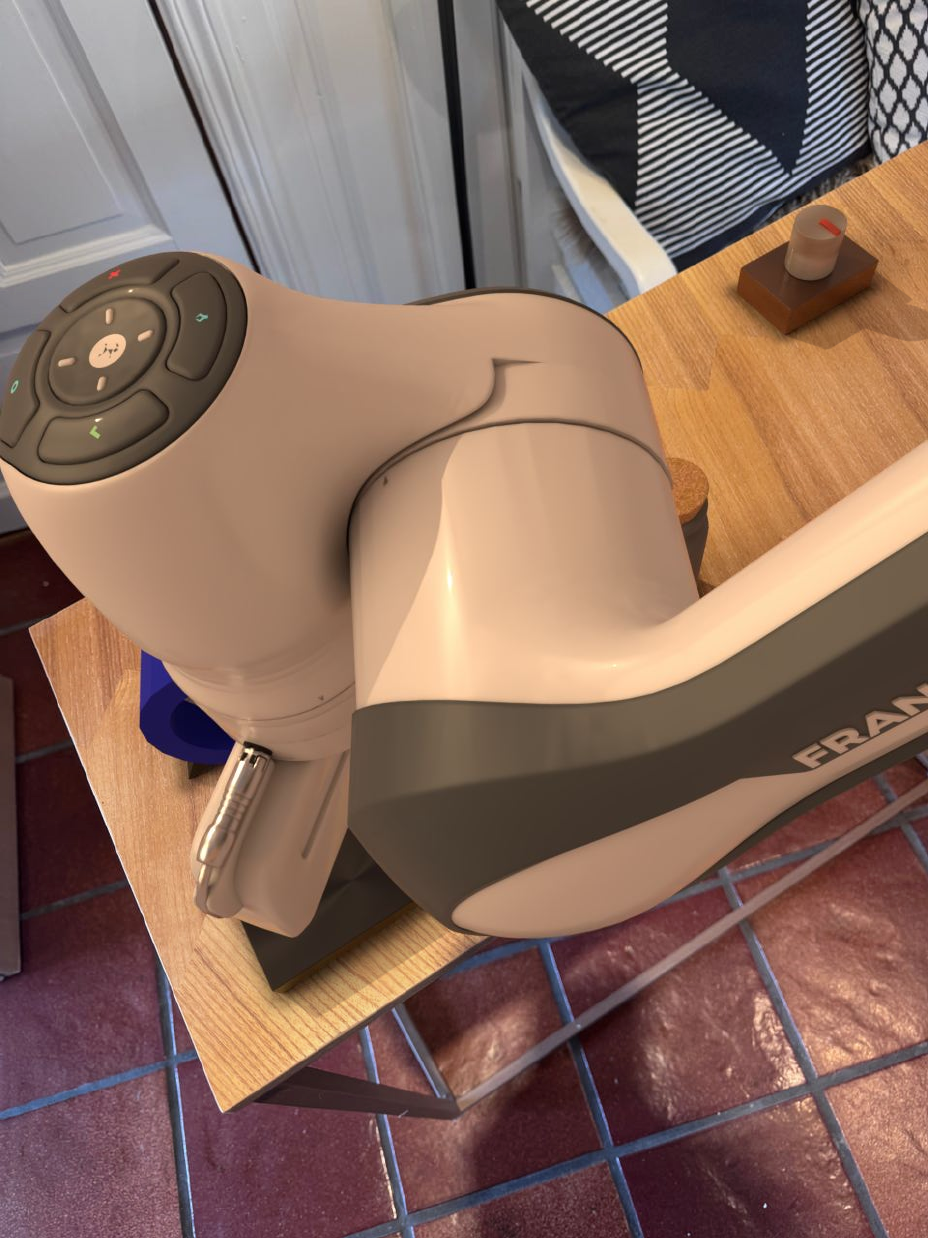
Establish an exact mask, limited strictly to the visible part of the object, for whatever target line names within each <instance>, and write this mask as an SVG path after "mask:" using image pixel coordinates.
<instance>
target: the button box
mask: <svg viewBox="0 0 928 1238" xmlns="http://www.w3.org/2000/svg"><path fill="white" fill-rule="evenodd" d="M418 907H420V906H419V905H418V904H417V903H415V902H414V901H413V900H412V899H411V898H410V897H409V896H408V895H407V894H406V893H404V892H403V891H402V890H401V889H400V888H399V887H398V886H397V885H396V884H395V883H394V882H393V880H392V879H391V878H390V877H389V876H388V875H387V874H386V873H385V872H384V871H383V870H382V868H381V867H380V866H379V865H378V864H377V863H376V861H375V860H374V859H373V858H372V857H371V856H370V855H369V853H368V852H367V851H366V849H365V848H364V847H363V846H362V844H361V843H360V842H359V840H358V839H357V838H356V837H355V835H354V834H353V833H352V831H351V830H350V829H349V827H348V828H347V831H346V833H345V836H344V839H343V841H342V844H341V847H340V849H339V852H338V854H337V857H336V860H335V862H334V865H333V868H332V870H331V873H330V875H329V878H328V881H327V883H326V886H325V889H324V891H323V894H322V896H321V899H320V902H319V905H318V907H317V910H316V913H315V915H314V917H313V919H312V921H311V922H310V923H309V925H308V926H307V927H306V928H305V929H304V930H303V931H302V932H301V933H300V934H299V935H298V936H296V937H288V936H284V935H281V934H278V933H275V932H272V931H269V930H266V929H263V928H260V927H258V926H255V925H252V924H250V923H247V922H245V921H242V920H239V921H240V923H241V926H242V928H243V930H244V932H245V935H246V936H247V940H248V941H249V944H250V945H251V948H252V951H253V952H254V954H255V957H256V959H257V962H258V964H259V966H260V968H261V971H262V973H263V975H264V977H265V979H266V981H267V983H268V986H269V988H270V990H271V992H274V993H276V994H281V995H283V994H285V993H287V992H288V991H289V990H291V989H293V988H294V987H295V986H297V985H298V984H300V983H302V982H304V981H305V980H306V979H308V978H310V977H311V976H312V975H314V974H316V973H317V972H319V971H320V970H322V969H323V968H325V967H327V966H328V965H329V964H331V963H333V962H334V961H336V960H337V959H339V958H341V957H342V956H344V955H345V954H347V953H348V952H350V951H351V950H353V949H354V948H356V947H358V946H359V945H361V944H362V943H363V942H365V941H367V940H368V939H370V938H371V937H373V936H374V935H376V934H378V933H379V932H381V931H382V930H384V929H385V928H387V927H388V926H390V925H391V924H393V923H394V922H396V921H397V920H399V919H401V918H403V917H404V916H405V915H407V914H408V913H410V912H412V911H414V910H415V909H416V908H418Z"/></svg>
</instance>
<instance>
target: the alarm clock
mask: <svg viewBox="0 0 928 1238" xmlns="http://www.w3.org/2000/svg"><path fill="white" fill-rule="evenodd" d="M139 679H140V681H139V723H138V724H139V725H138V726H139V730H140V731H141V733H142V735H143V737H144V739H145V741H146V742H147V743H148V744H149V745H151V746H152V747H154V749H156V750H157V751H159V752H161V754H164V755H166V756H169V757H172V758H175V759H178V760H180V761H183V762H186V764H187V773H188V774H187V775H188V779H189V780H190V779H192V778H193V777H196V776H198V775H200V774H202V773H204V772H206V771H208V770H210V769H212V768H214V767H216V766H219V765H226V763H227V760H228V758H229V756H230V754H231V752H232V749H233V747H234V745H235V743H236V741H235V740H234V739H233V738H232V737H231V736H229V735H228V734H227V733H226V732H225V731H224V730H223V729H222V728H221V727H220V726H219V725H218V724H217V723H216V722H215V721H214V720H213V719H212V718H211V717H209V716H208V715H207V714H206V713H205V712H204V711H203V710H202V709H201V708H200V707H199V706H198V705H197V704H196V703H195V702H194V701H193V700H192V699H190V697H189V696H188V695H186V694H185V693H184V692H183V691H182V690H181V688H180V687H179V686H178V685H177V684H176V683H175V682H174V680H173V679H172V678H171V676H170V675H169V673H168V672H167V670H166V669H165V667H164V665H163V663H162V660H159V659H157V658H155V657H154V656H152V655H150V654H148V653H146V652H145V651H143V650H142V649H140V676H139Z"/></svg>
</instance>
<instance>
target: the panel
mask: <svg viewBox="0 0 928 1238" xmlns="http://www.w3.org/2000/svg"><path fill="white" fill-rule="evenodd" d="M788 244H789V240H787V241H786V242H784V243H782V244H780V245H778V246H777V247H774V249H771V250H769V251H767V252H766V253H764V254H763V255H761V256H759V257H756V259H754V260H752V261H749V262H748V263H747V264H745V265H743V266H741V267H740V270H739V275H738V281H737V285H736V286H737V287H736V290H735V291H736V294H737V295H739V297H740V298H742V299H743V300H744V301H745V302H746V303H748V305H750V306H751V307H752V308H753V309H755V310H756V311H757V312H758V313H759V314H760V315H761V316H762V317H764V318H765V319H766V320H767V321H768V322H769V323H770V324H772V325H773V326H774V327H775V328H776V329H777V330H779V331H780V332H781V333H782V334H783V335H784V336H786V335H788V334H790V333H792V332H793V331H796V329H798V328H800V327H802V326H804V325H806V324H807V323H808V322H810V321H813V320H814V319H815V318H817V317H819V316H820V315H822V314H824V313H826V312H828V311H829V310H831V309H833V308H835V307H836V306H838V305H839V304H841V303H843V302H845V301H846V300H849V299H850V298H852V297H854V296H855V295H857V294H858V293H859V294H860V293H861V292H862V291H864V290H865V289H867V288H869V287H870V286H871V284H872V281H873V279H874V276H875V273H876V270H877V267H878V265H879V261H880V260H879V259H878V258H876V257H875V256H874V255H873V254H871V253H870V252H868V251H867V250H866V249H865V248H863V247H862V246H861V245H860V244H858V242H856V241H854V240H853V239H852V238H850V237H849V236H848V235H847V234H844V237H843V240H842V244H841V247H840V250H839V254H838V257H837V260H836V263H835V267H834V269H833V271H832V272H831V273H830V274H829V275H828V276H826V277H824V278H822V279H818V280H802V279H799V278H796V277H794V276H792V275H791V274H790V273H789V272H788V271H787V270H786V268H785V264H784V261H785V257H786V253H787V249H788Z"/></svg>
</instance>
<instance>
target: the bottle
mask: <svg viewBox="0 0 928 1238" xmlns="http://www.w3.org/2000/svg"><path fill="white" fill-rule="evenodd" d="M666 458H667V462H668V466H669V470H670V473H671V477H672V482H673V487H674V489H672V494H673V497H674V501H675V505H676V509H677V513H678V517H679V521H680V524H681V528H682V532H683V536H684V540H685V544H686V548H687V551H688V555H689V559H690V563H691V567H692V571H693V575H694V578H695V582H696V586H697V585H698V580H699V577H700V576H699V575H700V572H701V567H702V563H703V558H704V554H705V549H706V545H707V541H708V536H709V535H708V534H709V528H710V524H709V523H710V521H709V517H708V510H709V497H708V496H709V493H710V492H709V491H710V485H709V484H710V483H709V479H708V477H707V475H706V473H705V472H704V471H703V469H702V468H700V467H699V466H698V465H697V464H695V463H694V462H693V461H690V460H687V459H686V458H680V457H666Z"/></svg>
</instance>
